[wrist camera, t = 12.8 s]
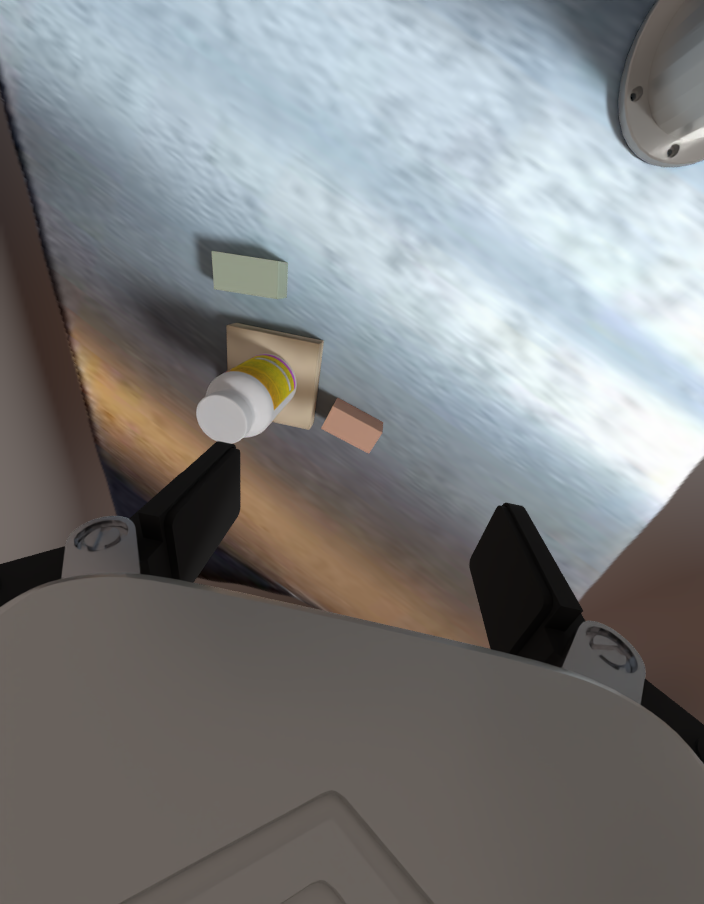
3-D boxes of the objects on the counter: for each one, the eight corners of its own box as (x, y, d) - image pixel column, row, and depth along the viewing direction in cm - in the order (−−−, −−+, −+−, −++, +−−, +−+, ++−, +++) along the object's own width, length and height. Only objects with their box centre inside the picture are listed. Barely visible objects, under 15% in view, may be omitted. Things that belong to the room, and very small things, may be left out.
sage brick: (229, 288, 37) (214, 289, 34) (227, 253, 35) (211, 250, 32) (287, 297, 37) (277, 299, 34) (288, 262, 35) (278, 261, 32)
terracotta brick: (326, 418, 43) (321, 428, 40) (337, 397, 42) (333, 406, 39) (370, 441, 44) (368, 453, 41) (383, 421, 43) (382, 432, 40)
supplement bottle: (255, 341, 37) (194, 367, 26) (306, 369, 38) (269, 407, 26) (238, 389, 40) (177, 431, 29) (286, 414, 41) (244, 465, 30)
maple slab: (236, 322, 38) (226, 325, 36) (323, 340, 38) (319, 344, 36) (236, 406, 44) (228, 412, 42) (313, 422, 44) (309, 429, 41)
